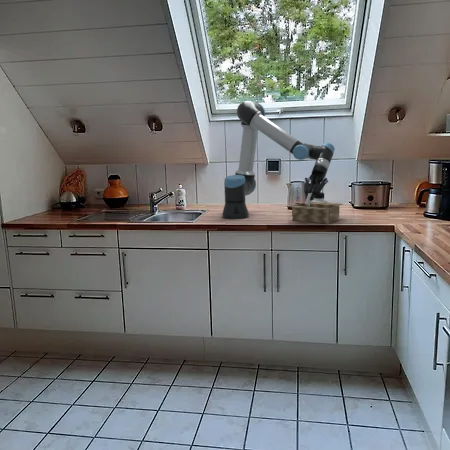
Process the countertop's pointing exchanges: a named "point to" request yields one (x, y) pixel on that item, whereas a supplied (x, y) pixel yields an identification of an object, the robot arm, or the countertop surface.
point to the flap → (306, 207)
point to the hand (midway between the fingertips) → (307, 205)
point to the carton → (317, 213)
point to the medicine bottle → (319, 198)
